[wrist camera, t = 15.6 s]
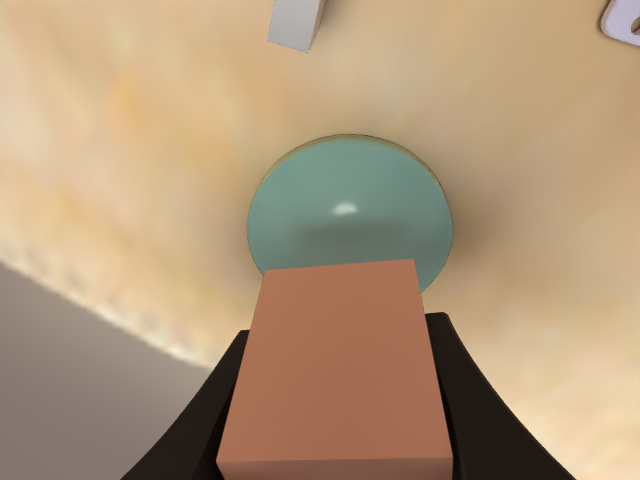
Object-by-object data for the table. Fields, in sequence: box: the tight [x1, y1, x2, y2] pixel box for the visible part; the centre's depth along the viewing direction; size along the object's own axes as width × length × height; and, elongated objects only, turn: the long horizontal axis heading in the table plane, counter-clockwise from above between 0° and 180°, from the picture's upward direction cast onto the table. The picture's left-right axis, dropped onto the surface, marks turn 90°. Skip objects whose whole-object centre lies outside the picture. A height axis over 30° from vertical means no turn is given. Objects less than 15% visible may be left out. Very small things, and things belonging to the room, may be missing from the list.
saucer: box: [247, 134, 453, 293], centre depth 17 cm, size 8×8×1 cm
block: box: [216, 259, 453, 480], centre depth 12 cm, size 4×4×6 cm
